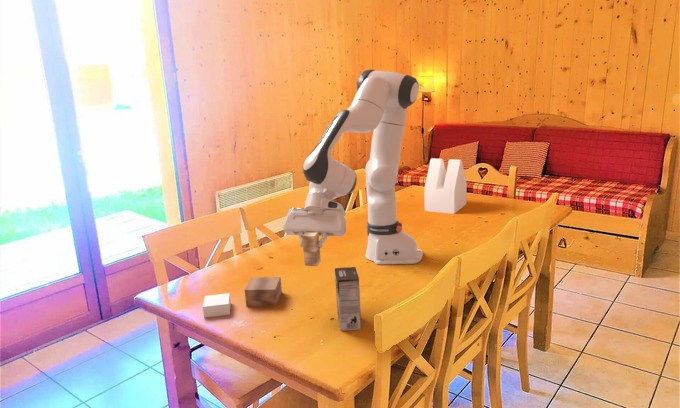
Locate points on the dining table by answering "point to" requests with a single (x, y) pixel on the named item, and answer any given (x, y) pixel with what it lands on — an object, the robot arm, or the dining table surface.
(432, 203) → the white notched block
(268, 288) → the walnut block
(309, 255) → the oak pillar
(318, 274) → the dining table surface
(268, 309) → the dining table surface
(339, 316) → the coffee box
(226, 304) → the white square block
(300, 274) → the dining table surface
